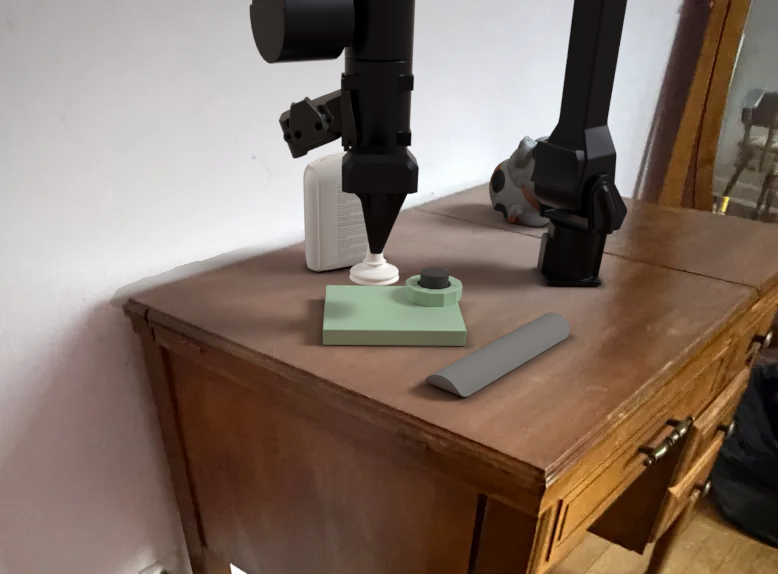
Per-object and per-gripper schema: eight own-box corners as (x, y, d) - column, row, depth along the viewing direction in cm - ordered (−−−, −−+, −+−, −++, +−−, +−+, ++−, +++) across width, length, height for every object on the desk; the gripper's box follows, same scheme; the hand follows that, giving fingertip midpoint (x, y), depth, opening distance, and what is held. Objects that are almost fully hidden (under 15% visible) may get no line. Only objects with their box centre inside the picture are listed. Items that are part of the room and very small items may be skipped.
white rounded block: (370, 252, 93) (372, 144, 85) (389, 261, 90) (392, 151, 82) (300, 265, 88) (295, 153, 80) (318, 275, 85) (314, 160, 78)
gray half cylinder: (572, 335, 73) (575, 318, 72) (459, 402, 62) (461, 383, 61) (536, 324, 76) (539, 307, 74) (420, 386, 64) (422, 368, 63)
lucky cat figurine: (578, 205, 111) (628, 124, 99) (571, 259, 106) (622, 180, 94) (488, 171, 110) (528, 83, 97) (476, 224, 104) (516, 138, 92)
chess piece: (405, 272, 73) (409, 163, 66) (390, 288, 69) (393, 174, 63) (359, 266, 74) (359, 158, 67) (342, 282, 70) (340, 170, 64)
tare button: (446, 281, 77) (447, 267, 76) (449, 291, 75) (450, 276, 74) (418, 281, 77) (419, 266, 76) (420, 291, 75) (421, 276, 74)
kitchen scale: (455, 300, 80) (458, 273, 78) (469, 346, 71) (472, 316, 69) (326, 299, 80) (326, 272, 78) (323, 345, 70) (322, 315, 69)
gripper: (289, 44, 67) (298, 221, 77) (272, 70, 52) (285, 284, 62) (408, 46, 67) (402, 222, 77) (424, 73, 53) (413, 285, 63)
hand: (375, 250), depth 70 cm, fingers closed on chess piece
